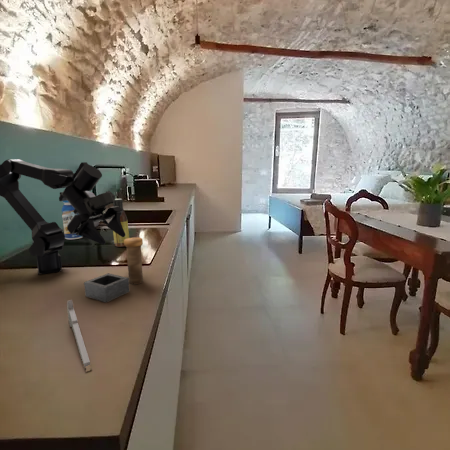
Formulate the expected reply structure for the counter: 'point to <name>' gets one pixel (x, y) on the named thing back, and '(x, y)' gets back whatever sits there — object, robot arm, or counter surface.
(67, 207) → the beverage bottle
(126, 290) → the socket block
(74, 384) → the counter surface
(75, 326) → the caliper
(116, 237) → the sauce bottle
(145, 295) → the counter surface
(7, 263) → the counter surface
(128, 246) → the pin
